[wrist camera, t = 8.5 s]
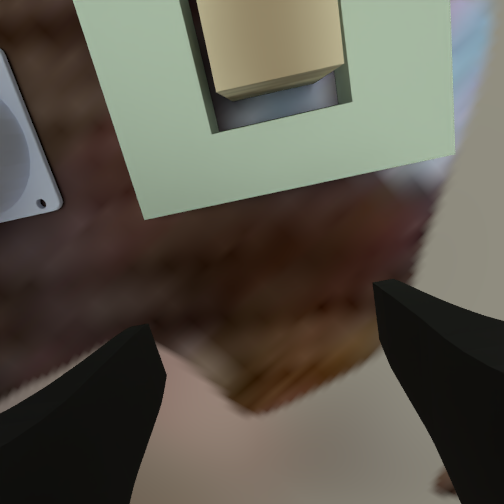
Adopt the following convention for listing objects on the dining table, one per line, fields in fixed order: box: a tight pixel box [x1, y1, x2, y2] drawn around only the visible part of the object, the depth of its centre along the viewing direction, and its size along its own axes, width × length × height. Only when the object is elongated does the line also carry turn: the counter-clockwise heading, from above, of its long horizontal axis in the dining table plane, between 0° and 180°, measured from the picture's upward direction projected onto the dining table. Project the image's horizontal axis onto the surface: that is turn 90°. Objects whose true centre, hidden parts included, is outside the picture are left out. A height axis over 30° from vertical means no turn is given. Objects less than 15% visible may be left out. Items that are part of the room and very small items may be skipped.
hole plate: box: [73, 0, 455, 220], centre depth 16 cm, size 14×12×3 cm
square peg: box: [196, 0, 344, 101], centre depth 14 cm, size 4×4×7 cm
